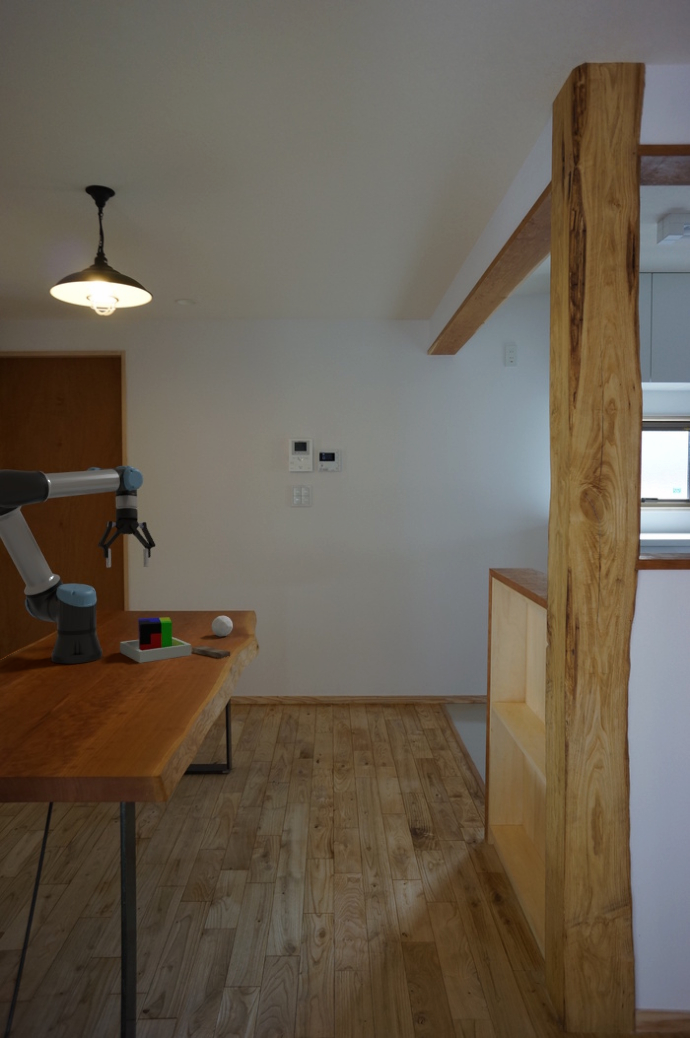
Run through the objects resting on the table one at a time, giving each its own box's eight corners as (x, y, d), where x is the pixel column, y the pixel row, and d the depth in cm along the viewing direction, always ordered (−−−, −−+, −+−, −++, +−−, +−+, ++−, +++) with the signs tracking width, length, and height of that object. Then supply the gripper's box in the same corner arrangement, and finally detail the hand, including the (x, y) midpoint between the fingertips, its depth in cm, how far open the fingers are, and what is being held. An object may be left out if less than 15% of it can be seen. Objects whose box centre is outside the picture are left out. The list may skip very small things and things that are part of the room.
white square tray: (139, 662, 210) (139, 651, 209) (120, 652, 223) (120, 642, 223) (191, 655, 220) (191, 644, 220) (169, 645, 234) (169, 635, 234)
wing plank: (230, 657, 219) (230, 651, 219) (221, 659, 216) (221, 653, 216) (201, 651, 228) (201, 645, 228) (192, 653, 225) (192, 647, 224)
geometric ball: (222, 644, 249) (215, 629, 244) (211, 633, 254) (205, 619, 249) (239, 632, 252) (232, 618, 247) (228, 622, 257) (222, 607, 252)
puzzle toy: (138, 648, 225) (138, 618, 225) (169, 646, 228) (169, 617, 228) (140, 655, 216) (140, 624, 215) (172, 652, 219) (172, 622, 219)
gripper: (155, 511, 254) (157, 567, 251) (88, 509, 239) (88, 568, 236) (163, 508, 248) (164, 565, 245) (94, 505, 233) (95, 566, 230)
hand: (127, 567), depth 241 cm, fingers open, 13 cm apart
